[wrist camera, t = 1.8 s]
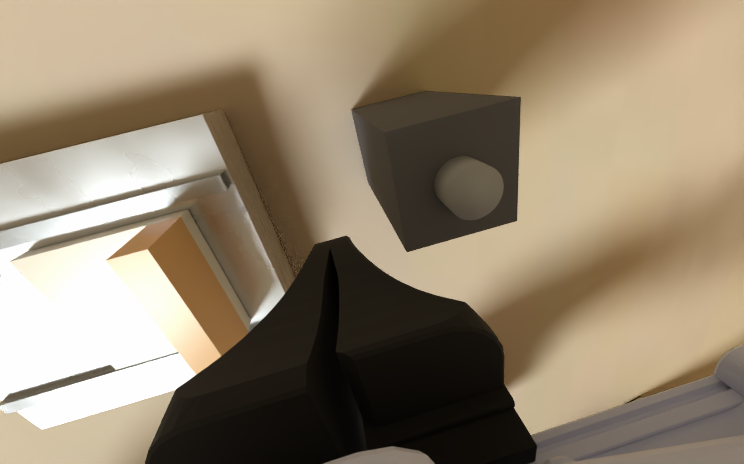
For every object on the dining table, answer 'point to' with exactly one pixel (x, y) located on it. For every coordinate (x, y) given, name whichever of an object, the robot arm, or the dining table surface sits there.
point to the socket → (109, 211)
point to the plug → (442, 163)
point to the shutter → (142, 292)
